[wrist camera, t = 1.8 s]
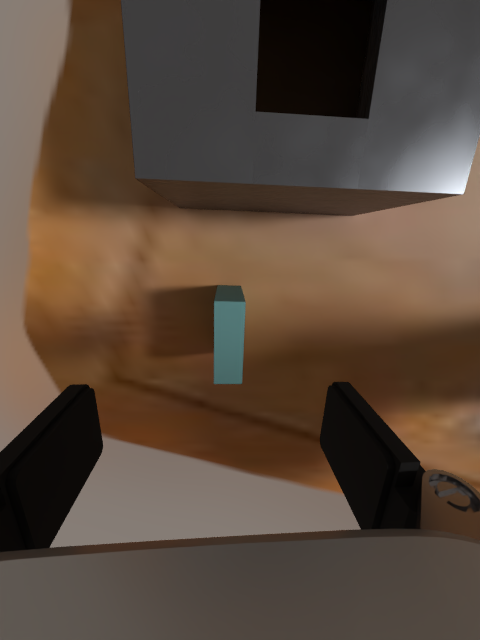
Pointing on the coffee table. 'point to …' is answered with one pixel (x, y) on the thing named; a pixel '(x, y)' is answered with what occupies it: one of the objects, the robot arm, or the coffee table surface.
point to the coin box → (295, 129)
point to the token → (228, 334)
